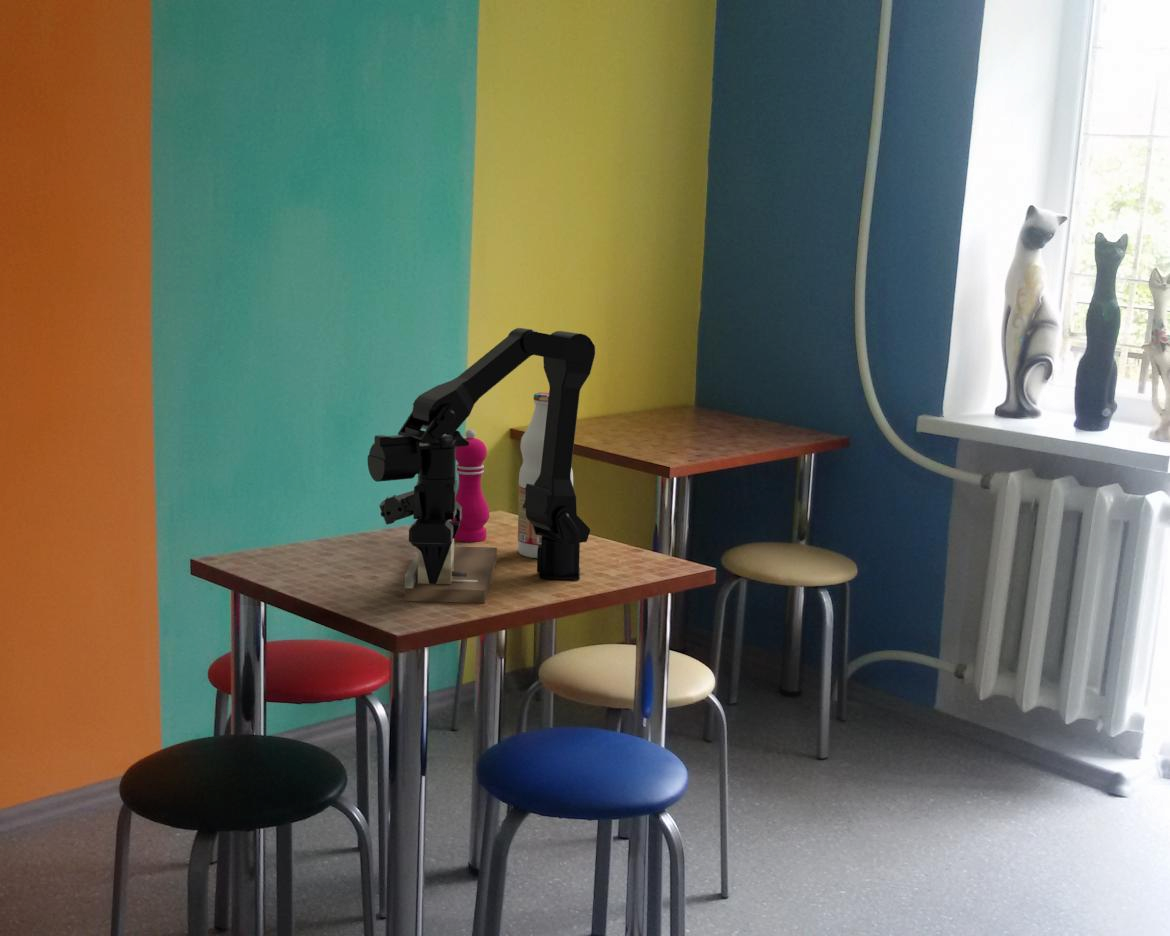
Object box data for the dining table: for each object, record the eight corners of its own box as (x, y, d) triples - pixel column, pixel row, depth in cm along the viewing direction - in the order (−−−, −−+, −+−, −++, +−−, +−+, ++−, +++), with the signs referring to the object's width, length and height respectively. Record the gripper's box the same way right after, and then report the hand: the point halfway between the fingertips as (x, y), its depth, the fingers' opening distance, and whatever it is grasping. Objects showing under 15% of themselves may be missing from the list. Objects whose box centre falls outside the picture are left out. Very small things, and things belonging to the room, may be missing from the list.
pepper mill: (451, 543, 246) (452, 432, 243) (447, 534, 253) (448, 426, 250) (491, 542, 248) (493, 432, 244) (486, 533, 255) (487, 426, 251)
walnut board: (496, 558, 236) (497, 536, 235) (484, 603, 208) (484, 577, 207) (426, 557, 236) (426, 534, 235) (404, 600, 208) (404, 575, 207)
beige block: (467, 576, 215) (468, 538, 214) (465, 584, 210) (465, 546, 209) (421, 575, 215) (421, 537, 214) (417, 583, 210) (417, 544, 209)
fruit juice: (506, 553, 239) (509, 393, 235) (539, 544, 247) (543, 389, 242) (549, 562, 234) (553, 398, 229) (582, 553, 242) (586, 393, 237)
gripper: (392, 464, 219) (392, 560, 222) (374, 486, 201) (374, 590, 203) (462, 466, 219) (461, 561, 222) (451, 488, 201) (450, 592, 203)
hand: (435, 576), depth 212 cm, fingers open, 9 cm apart
